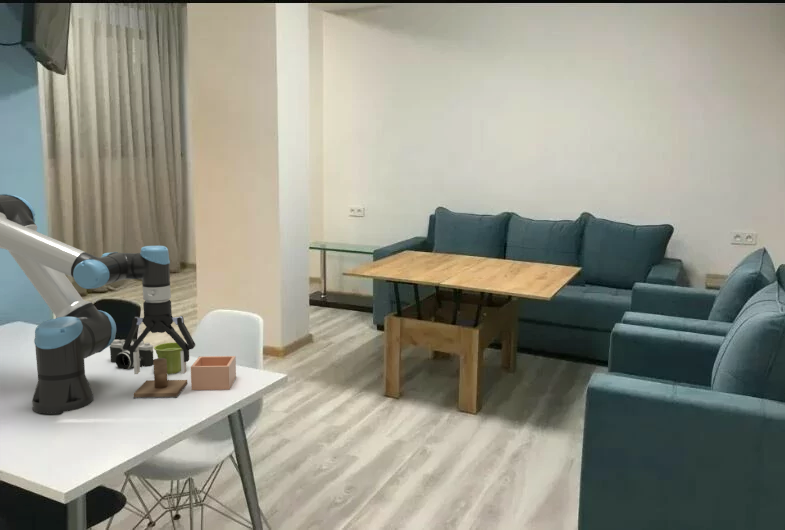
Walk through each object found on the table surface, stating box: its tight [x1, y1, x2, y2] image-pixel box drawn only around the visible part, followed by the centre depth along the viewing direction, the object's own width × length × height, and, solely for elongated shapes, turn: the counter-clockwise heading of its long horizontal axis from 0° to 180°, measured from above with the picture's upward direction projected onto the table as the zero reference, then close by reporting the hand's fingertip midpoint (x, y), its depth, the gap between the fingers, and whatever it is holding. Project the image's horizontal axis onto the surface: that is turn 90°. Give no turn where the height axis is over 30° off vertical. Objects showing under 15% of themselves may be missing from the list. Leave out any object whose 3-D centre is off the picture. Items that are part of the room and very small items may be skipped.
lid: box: [133, 357, 188, 398], centre depth 196 cm, size 12×12×9 cm
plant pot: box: [153, 342, 183, 375], centre depth 213 cm, size 9×9×9 cm
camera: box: [109, 338, 154, 370], centre depth 219 cm, size 16×9×10 cm, turn 73°
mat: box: [133, 383, 188, 399], centre depth 196 cm, size 12×12×1 cm
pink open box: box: [190, 355, 237, 391], centre depth 202 cm, size 11×11×7 cm
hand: (160, 372), depth 196 cm, fingers open, 13 cm apart
